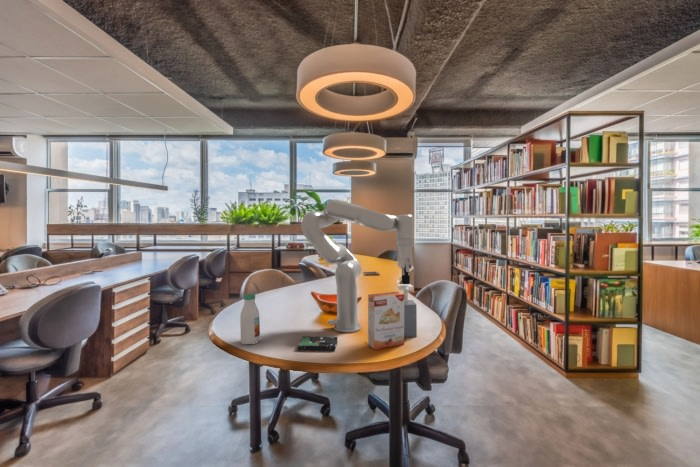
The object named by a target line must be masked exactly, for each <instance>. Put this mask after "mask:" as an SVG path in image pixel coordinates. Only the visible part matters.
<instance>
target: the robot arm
mask: <svg viewBox="0 0 700 467" xmlns="http://www.w3.org/2000/svg"><path fill="white" fill-rule="evenodd" d="M340 220H341V221H346V222H349V223H352V224H356V225H357V226H358V225H359V226H363V227H365V228H366V227H367V228H369V229H373V230H376V231H380V232H393V231H396V247H398V248H397V249H398V250H397V266H398V268H400V269H401V284H411V283H410V280H411V278H410V277H411V276H410V269H412V268H413V249H412V248H413V247H414V246H415V241H414V239H415V230H414V226H415V224H414V223H415V222H414V221H415V220H414V216H413V215H412V214H399V215H392V214H386V213H383V212H380V211H375V210H371V209H368V208H365V207H364V206H362V205H358V204H354V203H351V202H348V201H343V200H339V199H331V200H330V201H328V203H327V204H326V206H325V209H323V210H321V211H320V210H319V211H317V210H311V211H308V212H306V213H305V214H304V216H303V218H302V220H301V232H302V235H303V236H304V237H305V239H306V240H307V241H308V242H309V244H310V245H311V246H312V247H313V248H314V250H315V251H316V252H317V253H318V255H319V256H320V257H322V259H323V260H324V261H325V263H327V264H329V265H336V266H337V267H336V268H335V272H334V276H335V284H336V318H334V319H327V324H328V325H330V326H333V329H334V330H335V331H337V332H340V333H355V332H358V331H360V330H361V328H362V325H361V324H360V323H358V322H359V321H358V287H357V278H358V277H359V276H360V275H361V273H362V265H361V263H360V262H359V260H358V259H357V258H356V257H355V256H354V255H353V254H352V252H351V251H350V250H348V248H347V247H346V246H345V245H343V244H341V243H334V241H332V239H331V238H330V237H329V235H327V234H326V233H325V232H324V231H323V230H322V229H325V228H328V227H329V226H331V225H333V224H334V223H336V222H337V223H338V221H340Z"/></svg>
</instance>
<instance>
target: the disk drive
mask: <svg viewBox="0 0 700 467" xmlns="http://www.w3.org/2000/svg"><path fill="white" fill-rule="evenodd" d="M337 345H338V336H310V335H309V336H306V335H305V336H302V337H301V339H300V340H299V343H298V344H297V351H298V352H336V349H337Z"/></svg>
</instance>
